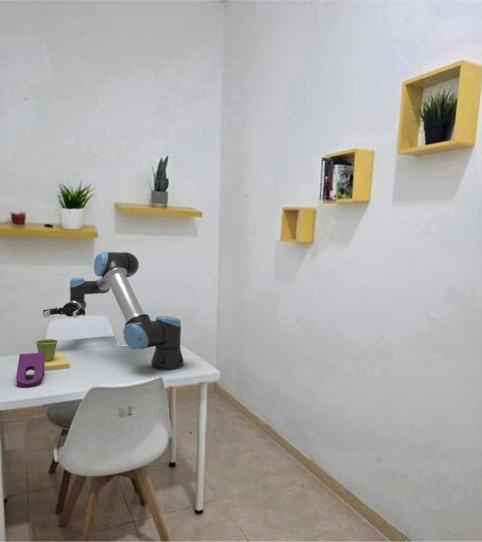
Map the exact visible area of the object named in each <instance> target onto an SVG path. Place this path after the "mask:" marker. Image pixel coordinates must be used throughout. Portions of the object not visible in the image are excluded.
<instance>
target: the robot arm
mask: <svg viewBox="0 0 482 542" xmlns="http://www.w3.org/2000/svg"><path fill="white" fill-rule="evenodd" d="M139 264H140V263H139V259H138V258H137V257H136V255H134V254H132V253H130V252H127V251H126V252H125V251H121V252H119V251H118V252H114V251H112V252H111V251H105V252H99V253H97V255H96V256H95V258H94V262H93V272H94V274H95V276H97V277H100V278H98V279H96V280H85V278H83V277H72V278H70V281H69V296H70V297H69V302H66V303H65V304H64V305H63V307H62V306H61V307H54V308H47V309H43V310H42V316H43V319H46V318H49V317H51V316H53V315H61V316H62V315H64V316H66V317H70V318H71V317H72V318H73V319H75V318H77V317H80V316H85V315H86V310H85V309H86V308H87V302H86V299H85V297H86V296H85V295H97V294H98V295H100V294H102V295H103V294H107V293H109V292H110V290H111V291H112V293H113V296H114V298H115V299H116V302H117V304H118V306H119V308H120V311H121V313H122V316H123V317H124V320H125V323H124V328H123V331H122V332H123V333H122V334H123V340H124V342H125V344H126V345H127V346H128V347H129V348H131V349H132V350H144V349H147V348H148V349H149V348H152V347H153V348H154V347H155V350H154V351H153V355H152V358H151V360H150V361H151V364H150V365H151V367H152V368H154V369H157V370H163V371H164V370H167V371H168V370H177V369H180V368H182V367H183V366H184V357H183V354H182V351H181V337H182V336H181V334H182V326H181V325H182V323H181V319H180V318H177V317H173V316H166V315H165V316H164V315H157V316H156V317H155V320H152V319H151V318H150V316H149V314H147V313H145V312H144V311H143V308H142V307H141V304H140V302H139V301H138V298H137V296H136V295H135V293H134V290H133V288H132V286H131V284H130V281H129V279H128V278H130V277H132V276H134V275H135V274H136V273H137V272H138V270H139V268H140V265H139ZM181 366H182V367H181ZM179 367H180V368H179ZM176 368H177V369H176Z"/></svg>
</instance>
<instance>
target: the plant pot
mask: <svg viewBox="0 0 482 542" xmlns="http://www.w3.org/2000/svg"><path fill="white" fill-rule="evenodd" d="M58 340H59V339H58ZM58 340H57V339H55V338H54V339H52V338H51V339H49V338H48V339H47V338H46V339H40V340H36V341H35V344H36V347H37V353H44V359H45V361H49V360H50V361H52V360H54V355H55V354H56V349H57V345H58V342H59V341H58Z"/></svg>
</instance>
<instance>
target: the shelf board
mask: <svg viewBox="0 0 482 542" xmlns="http://www.w3.org/2000/svg"><path fill="white" fill-rule="evenodd" d="M70 364H71V363H70V362H69V360H68V359H67V357H66V356H65V354H64V352H57V353H56V352H55V355H54V360H52V361H50V360H49V361H45V369H44V372H46V371H54V370H64V368H65V369H70V367H71V365H70Z"/></svg>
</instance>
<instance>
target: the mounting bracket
mask: <svg viewBox="0 0 482 542" xmlns="http://www.w3.org/2000/svg"><path fill="white" fill-rule="evenodd" d="M44 369H45V359H44V353H38V352H32V353H31V352H30V353H19V355H18V363H17V370H16V375H15V376H16V377H15V380H16V384H17V385H18V387H19V386H20V387H21V388H32V387H37V386H38V385H39V384H41V382H42V380H43V377H44V376H45V371H44ZM28 371H33V378H32V379H31V380H26V377H27V372H28Z"/></svg>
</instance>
